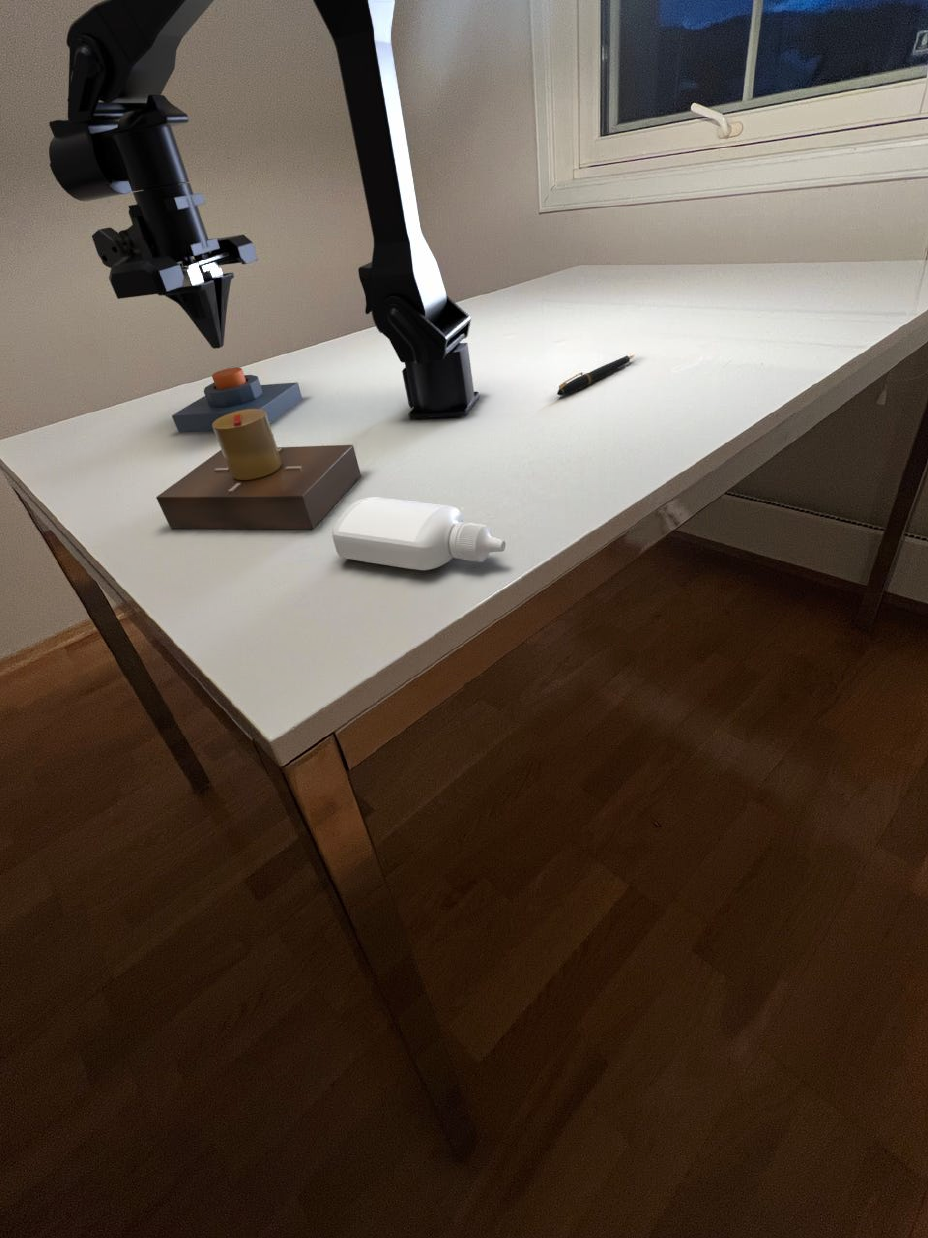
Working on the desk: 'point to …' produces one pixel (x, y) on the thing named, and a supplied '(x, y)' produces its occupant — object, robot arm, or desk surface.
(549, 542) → the desk surface
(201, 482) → the knob plate
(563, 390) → the fountain pen
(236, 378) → the orange button
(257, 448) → the brass knob
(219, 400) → the button box
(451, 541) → the eye dropper bottle
